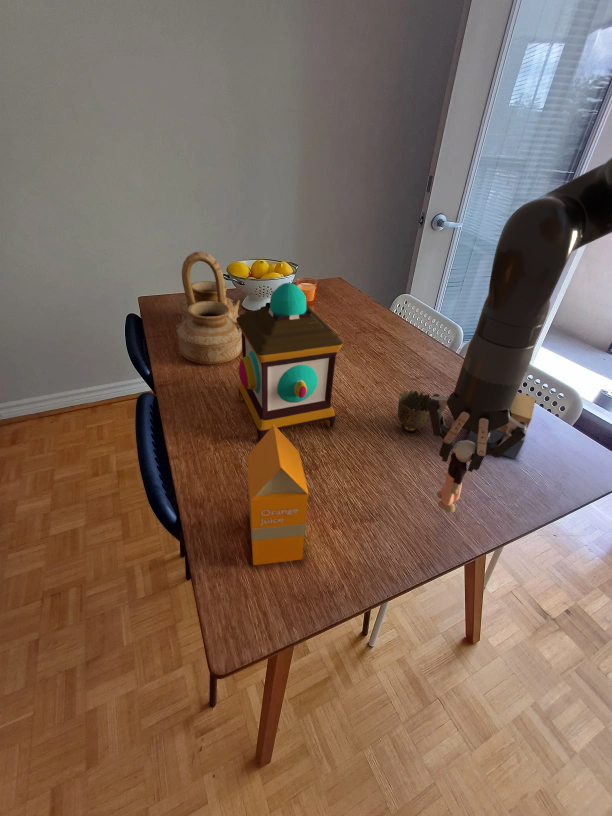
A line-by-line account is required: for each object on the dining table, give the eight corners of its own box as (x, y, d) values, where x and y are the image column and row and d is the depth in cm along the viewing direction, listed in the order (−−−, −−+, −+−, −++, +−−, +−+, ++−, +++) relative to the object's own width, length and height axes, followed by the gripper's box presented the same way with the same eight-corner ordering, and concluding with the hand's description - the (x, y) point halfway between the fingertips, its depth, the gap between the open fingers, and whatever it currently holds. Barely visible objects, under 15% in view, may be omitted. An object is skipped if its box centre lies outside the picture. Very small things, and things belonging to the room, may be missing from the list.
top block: (526, 416, 87) (536, 397, 84) (522, 438, 80) (531, 419, 77) (484, 403, 90) (491, 384, 87) (476, 423, 84) (484, 403, 81)
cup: (429, 440, 86) (438, 410, 81) (395, 438, 86) (403, 408, 81) (421, 419, 92) (430, 390, 87) (390, 417, 92) (396, 388, 87)
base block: (521, 434, 90) (529, 416, 87) (515, 459, 83) (524, 441, 80) (475, 418, 94) (482, 401, 91) (466, 441, 86) (473, 423, 83)
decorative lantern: (254, 450, 80) (250, 308, 63) (231, 397, 95) (223, 270, 77) (343, 430, 87) (361, 297, 69) (309, 384, 102) (317, 264, 84)
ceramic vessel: (249, 365, 107) (247, 272, 93) (178, 370, 103) (164, 273, 89) (238, 315, 134) (234, 237, 119) (181, 317, 130) (170, 236, 115)
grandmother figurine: (463, 518, 63) (490, 460, 56) (439, 516, 63) (462, 458, 56) (451, 482, 70) (473, 426, 62) (429, 481, 70) (449, 424, 62)
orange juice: (252, 565, 60) (248, 469, 48) (248, 518, 66) (245, 424, 55) (303, 559, 61) (312, 464, 49) (295, 513, 68) (301, 421, 56)
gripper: (432, 363, 52) (406, 460, 62) (550, 397, 46) (501, 498, 56) (446, 342, 57) (421, 434, 67) (554, 371, 52) (509, 466, 62)
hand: (458, 463), depth 62 cm, fingers closed on grandmother figurine, 3 cm apart
